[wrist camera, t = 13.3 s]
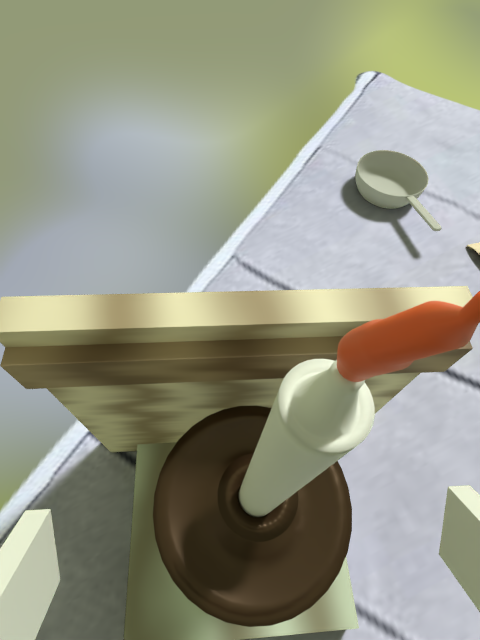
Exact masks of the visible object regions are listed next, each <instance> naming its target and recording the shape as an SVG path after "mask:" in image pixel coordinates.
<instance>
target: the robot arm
mask: <svg viewBox="0 0 480 640" xmlns="http://www.w3.org/2000/svg"><path fill="white" fill-rule="evenodd" d="M439 555H440V556H441V558H442V559H443V561H444V562H445V563H446V565H447V566H448V568H449V569H450V570H451V572H452V573H453V575H454V576H455V578H456V579H457V580H458V582H459V583H460V585H461V586H462V588H463V589H464V590H465V592H466V593H467V595H468V596H469V597H470V599H471V600H472V602H473V603H474V605H475V606H476V607H477V609H478V610H479V612H480V495H479V494H478V493H477V492H476V491H475V490H474V489H473V488H472V487H471V486H470V485H469V486H451V487H448V491H447V498H446V506H445V513H444V520H443V528H442V535H441V543H440V550H439ZM59 582H60V574H59V566H58V559H57V552H56V545H55V537H54V530H53V523H52V516H51V509H43V510H25V512H24V513H23V515H22V517H21V518H20V520H19V521H18V523H17V524H16V526H15V527H14V529H13V530H12V532H11V533H10V535H9V536H8V538H7V539H6V541H5V542H4V544H3V545H2V547H1V548H0V640H35V639H36V636H37V634H38V632H39V629H40V627H41V625H42V622H43V620H44V618H45V615H46V613H47V611H48V608H49V606H50V604H51V601H52V599H53V597H54V594H55V592H56V590H57V587H58V585H59Z"/></svg>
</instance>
